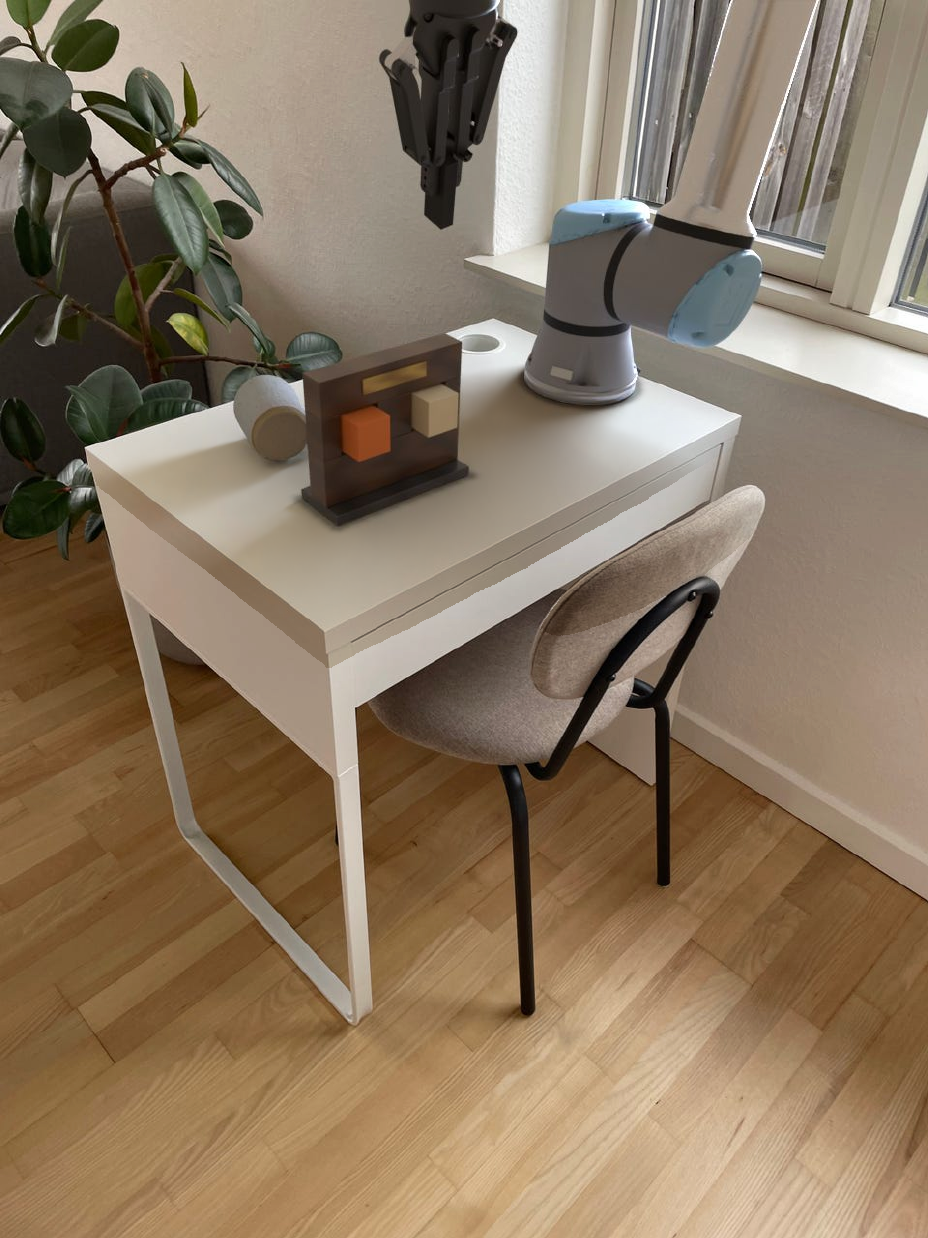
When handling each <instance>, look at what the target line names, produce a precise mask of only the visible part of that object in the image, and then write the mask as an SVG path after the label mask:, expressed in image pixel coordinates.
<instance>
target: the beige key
mask: <svg viewBox="0 0 928 1238" xmlns="http://www.w3.org/2000/svg"><path fill="white" fill-rule="evenodd" d="M458 395H459V393H457V392H455V391H453V390H452V389H450V388H448V387H446V386H444V385H443V384H441V383H438V384H435V385H432V386H428V387H425V388H422V389H419V390H416V391H413V392H411V427H412V428H414V429H415V430H417V431H419V432H420V433H422V434H423V435H425V436H427V437H428V438H429V437H432V436H435V435H437V434H440V433H443V432H446V431H449V430H452V429H455V428H457V421H458Z"/></svg>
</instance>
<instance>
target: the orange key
mask: <svg viewBox="0 0 928 1238" xmlns="http://www.w3.org/2000/svg"><path fill="white" fill-rule="evenodd" d="M339 415H340V434H341V450H342V451H343V452H345V453H346V454H348V455H349V456H351V457H352V458H353V459H355V460H356V461H358V462H360V461H363V460H366V459H369V458H372V457H375V456H378V455H380V454H383V453H386V452H389V451H390V415H388V414H386V413H385V412H383V411H381V410H380V409H378V408H377V407H375V406H373V405H372V404H371V405H368V406H365V407H362V408H358V409H355V410H352V411H349V412H346V413H343V414H339Z"/></svg>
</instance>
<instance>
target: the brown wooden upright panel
mask: <svg viewBox="0 0 928 1238" xmlns="http://www.w3.org/2000/svg"><path fill="white" fill-rule="evenodd" d="M462 359H463V341H462V340H459V339H458V338H456V337H454V336H452V335H450V334H448V333H445V332H442V333H440V334H435V335H433V336H430V337H429V336H428V337H425V338H422V339H418V340H414V341H411V342H407V343H403V344H400V345H396V346H393V347H390V348H386V349H382V350H379V351H375V352H371V353H368V354H364V355H360V356H358V357H353V358H350V359H346V360H343V361H339V362H336V363H331V364H329V365H325V366H322V367H318V368H314V369H311V370H307V371H303V372H302V387H303V388H302V389H303V401H304V410H305V417H306V431H307V445H306V446H307V457H308V471H309V484H310V485H309V486H305V487H303V488H301V489H300V494H301V499H302V500H303V501H305V502H306V503H307V504H308V505H309V506H311V507H312V508H314V509H315V510H316V511H317V512H319V513H320V514H321V515H323V516H324V517H326V519H327V520H330V522H332V523H333V524H335V526H337V527H340V526H342V525H345V524H347V523H350V522H352V521H355V520H358V519H360V518H363V517H365V516H368V515H370V514H374V513H375V512H378V511H380V510H383V509H387V508H388V507H391V506H394V505H395V504H399V503H402V502H403V501H406V500H409V499H412V498H414V497H417V496H420V495H421V494H424V493H427V492H430V491H432V490H434V489H437V488H439V487H442V486H445V485H447V484H450V483H452V482H455V481H457V480H460V479H463V478H465V477H467V476H469V472H470V466H469V465H468V464H466V463H464V462H463V461H461V460H459V459H458V458H459V457H458V456H459V433H460V412H461V411H460V410H461V409H460V408H461V386H462V385H461V384H462ZM438 383H441V384H443V385H444V386H446V387H448V388H450V389H452V390H453V391H455V392H457V393H459V395H458V421H457V428H455V429H452V430H449V431H446V432H443V433H440V434H437V435H435V436H432V437H429V438H428V437H427V436H425V435H423V434H422V433H420V432H419V431H417V430H415V429H414V428H412V427H411V392H413V391H416V390H419V389H422V388H425V387H428V386H432V385H435V384H438ZM371 404H372V405H373V406H375V407H377V408H378V409H380V410H381V411H383V412H385V413H386V414H388V415H390V451H389V452H386V453H383V454H380V455H378V456H375V457H372V458H369V459H366V460H363V461H360V462H358V461H356V460H355V459H353V458H352V457H351V456H349V455H348V454H346V453H345V452H343V451H342V450H341V434H340V415H339V414H343V413H346V412H349V411H352V410H355V409H358V408H362V407H365V406H368V405H371Z"/></svg>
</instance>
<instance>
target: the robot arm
mask: <svg viewBox="0 0 928 1238" xmlns="http://www.w3.org/2000/svg"><path fill="white" fill-rule="evenodd" d="M818 1H819V0H730V2H729V6H728V9H727V13H726V17H725V20H724V23H723V27H722V30H721V33H720V38H719V41H718V44H717V48H716V51H715V55H714V59H713V62H712V64H711V65H712V66H711V69H710V72H709V76H708V79H707V83H706V86H705V90H704V94H703V95H702V96H703V97H702V100H701V104H700V107H699V110H698V113H697V117H696V121H695V124H694V128H693V132H692V135H691V138H690V142H689V145H688V149H687V153H686V156H685V160H684V162H683V167H682V170H681V173H680V177H679V179H678V180H679V181H678V184H677V187H676V190H675V194H674V196H673V198H672V199H671V200H669V201H668V202H667V203H665V204H663V205H662V206H661V207H659V208H658V209H657V211H656V213H655V217H654V220H653V223H649V219H650V217H651V215H650V211H649V210H650V208H649V206H648V205H647V204H645V203H643V202H641V201H637V200H630V199H629V200H628V199H595V200H584V201H577V202H574V203H570V204H567V205H565V206H563V207H561V208H560V209H559V210H557V212H555V215H554V217H553V219H552V220H553V222H552V227H551V233H550V239H549V241H548V256H547V269H546V281H545V293H544V304H543V306H544V307H543V315H542V316H543V317H542V322H541V326H540V329H539V330H538V333H537V335H536V337H535V340H534V343H533V345H532V347H531V351H530V353H529V355H528V356H527V359H526V361H525V365H524V378H523V379H524V382H525V384H526V385H527V386H528V388H530V389H531V390H532V391H533V392H535V393H537V394H538V395H540V396H542V397H545V398H547V399H550V400H553V401H556V402H561V403H565V404H571V405H579V406H580V405H581V406H601V405H609V404H613V403H617V402H620V401H622V400H625V399H626V398H628V397H630V396H631V395H632V394H633V393H634V392H635V390H636V385H637V378H638V374H639V373H641V371H642V368H640V367H639V366H637V364H636V363H635V359H634V357H635V356H634V348H633V342H632V341H633V340H632V333H631V329H632V327H635V328H638V329H641V330H644V331H647V332H650V333H651V334H655V335H658V336H661V337H663V338H666V339H668V340H669V341H670V342H671V343H673V344H682V345H686V346H689V347H693V348H697V349H709V348H712V347H716V346H717V345H719V344H721V343H723V342H724V341H725V340H726V339H727V338H729V336H731V335H732V334H733V332H735V331H736V330H737V328H738V327H739V326H740V325H741V324H742V322H743V321H744V319H745V318H746V317H747V315H748V313H749V311H750V310H751V307H752V306H753V304H754V302H755V300H756V297H757V295H758V292H759V290H760V288H761V283H762V278H763V277H762V272H763V263H762V260H761V258H760V256H758V254H756V253H755V251H754V250H752V248H753V244H754V242H755V238H756V236H757V232H756V230H755V228H754V226H753V224H752V222H751V219H750V215H749V214H750V211H751V208H752V204H753V201H754V198H755V196H756V192H757V189H758V186H759V183H760V180H761V177H762V174H763V171H764V167H765V165H766V161H767V158H768V155H769V152H770V149H771V146H772V143H773V141H774V137H775V133H776V131H777V128H778V125H779V121H780V119H781V115H782V112H783V109H784V106H785V104H786V100H787V96H788V93H789V90H790V88H791V84H792V82H793V78H794V76H795V72H796V69H797V66H798V62H799V60H800V56H801V53H802V50H803V47H804V45H805V41H806V38H807V36H808V31H809V29H810V26H811V23H812V19H813V16H814V13H815V10H816V7H817V4H818ZM500 2H501V0H408V5H409V13H408V15H407V16H408V17H407V19H406V22H405V24H404V28H403V34H404V38H403V39H402V41H400V43H399V44H398V45H397V46H396V47H395V49H393V51H391V50H390V49H388V48H385V49H383V50H381V52H380V54H379V56H378V62H379V64H380V65H381V67H382V69H383V70H384V72H385V73H386V75H387V77H388V80H389V84H390V89H391V94H392V100H393V105H394V110H395V116H396V121H397V127H398V131H399V137H400V142H401V147H402V151H403V152H404V153H405V154H406V155H407V156H409V157H410V158H411V159H412V160H413V161H414V162H415V163H417V165H419V166H420V181H419V182H420V183H419V186H420V189H421V191H422V192H424V206H423V216H424V217H425V218H427V220H429V221H430V222H431V223H432V224H433V225H435V227H437V228H438V229H439V230H440V231H441V230H445V229H447V228H449V227H451V226H453V225H454V219H455V218H454V217H455V205H456V193H457V188H458V187H460V185H461V183H462V177H463V175H462V174H463V165H464V163H469V162H470V161H471V159H472V157H473V155H474V153H473V152H472V151H471V150H470V149H469V148H470V147H471V146H473V145H474V146H479V145H480V144H482V142H483V140H484V137H485V135H486V131H487V126H488V123H489V120H490V116H491V112H492V109H493V105H494V101H495V99H496V94H497V91H498V87H499V84H500V80H501V76H502V73H503V69H504V66H505V62H506V58H507V56H508V55H509V52H510V50H511V49H512V46H513V45H514V43H515V40H517V37H518V29H517V27H515V26H514V25H513V24H512V23H510V22H508V20H506V19H504V18H503V17H502V16H500V15H499V14H498V8H497V7H498V5H499V3H500ZM415 57H416V58H417V59H418V67H416V61H415ZM417 74H418V75H419V77H420V84H421V85H420V87H419V83H418V81H417V79H416V75H417Z"/></svg>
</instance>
